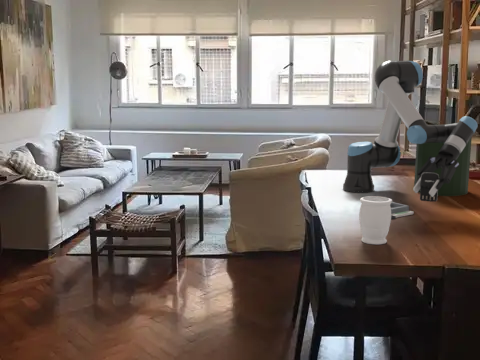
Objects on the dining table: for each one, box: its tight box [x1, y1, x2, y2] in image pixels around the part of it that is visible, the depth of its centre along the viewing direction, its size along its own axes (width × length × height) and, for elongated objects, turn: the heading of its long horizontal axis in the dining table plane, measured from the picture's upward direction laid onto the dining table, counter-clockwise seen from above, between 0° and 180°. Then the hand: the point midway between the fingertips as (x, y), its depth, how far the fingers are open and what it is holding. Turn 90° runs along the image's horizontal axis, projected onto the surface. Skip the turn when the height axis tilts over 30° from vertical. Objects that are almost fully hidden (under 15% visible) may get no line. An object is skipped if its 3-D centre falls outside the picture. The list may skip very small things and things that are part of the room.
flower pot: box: [413, 136, 473, 197], centre depth 286 cm, size 25×25×28 cm
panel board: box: [390, 201, 414, 218], centre depth 243 cm, size 14×12×3 cm
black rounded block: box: [419, 172, 439, 203], centre depth 234 cm, size 7×4×11 cm, turn 70°
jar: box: [358, 195, 393, 246], centre depth 200 cm, size 11×10×15 cm
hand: (422, 192), depth 233 cm, fingers closed on black rounded block, 7 cm apart
